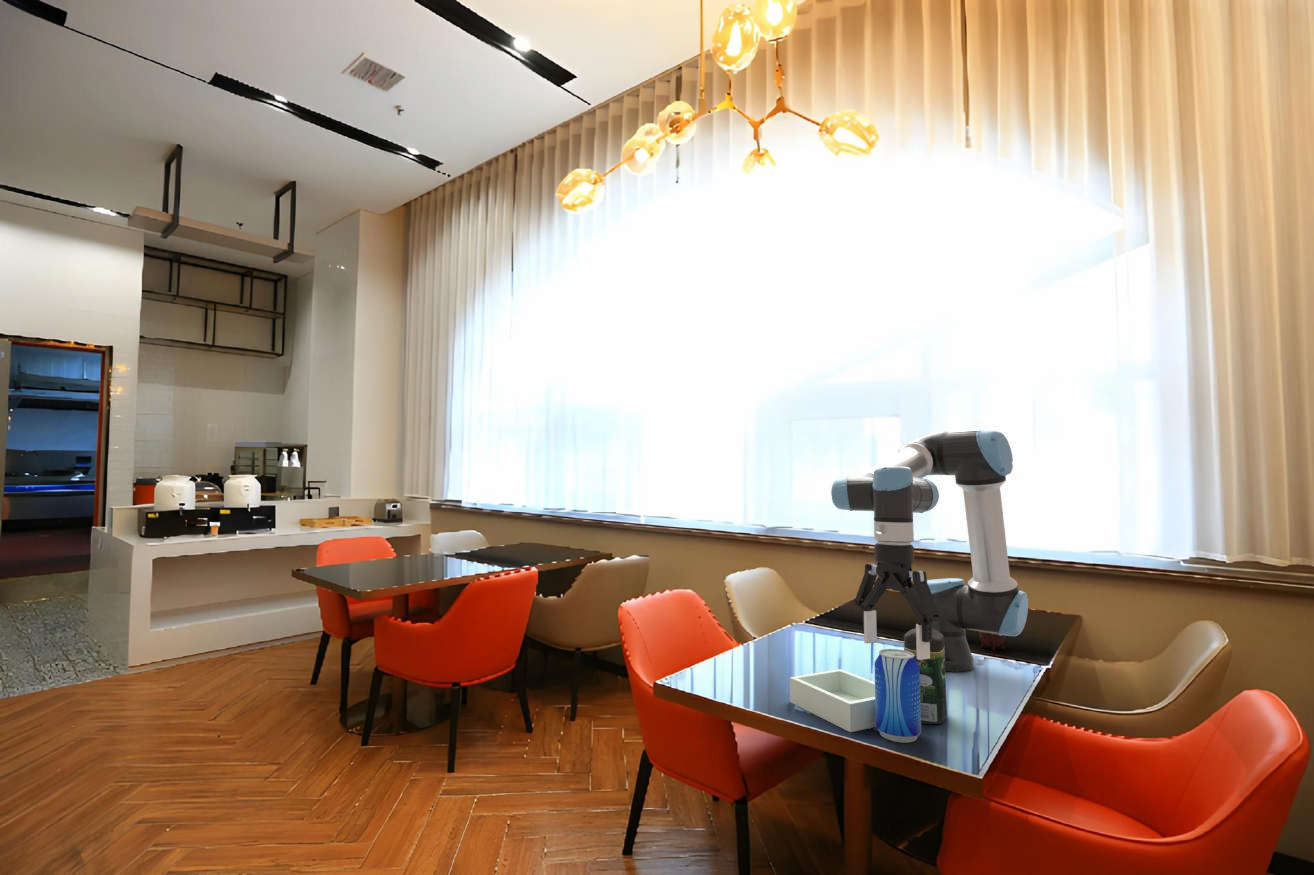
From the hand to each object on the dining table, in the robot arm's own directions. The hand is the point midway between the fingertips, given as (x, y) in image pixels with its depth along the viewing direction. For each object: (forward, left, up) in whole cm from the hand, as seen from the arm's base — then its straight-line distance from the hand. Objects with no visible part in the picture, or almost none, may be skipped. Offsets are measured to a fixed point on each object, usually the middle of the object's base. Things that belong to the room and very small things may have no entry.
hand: (895, 650), depth 126 cm
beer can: (0, 0, -17) cm, 17 cm away
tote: (0, -15, -17) cm, 22 cm away
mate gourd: (-78, -36, -17) cm, 88 cm away
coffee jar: (-13, -5, -17) cm, 22 cm away
